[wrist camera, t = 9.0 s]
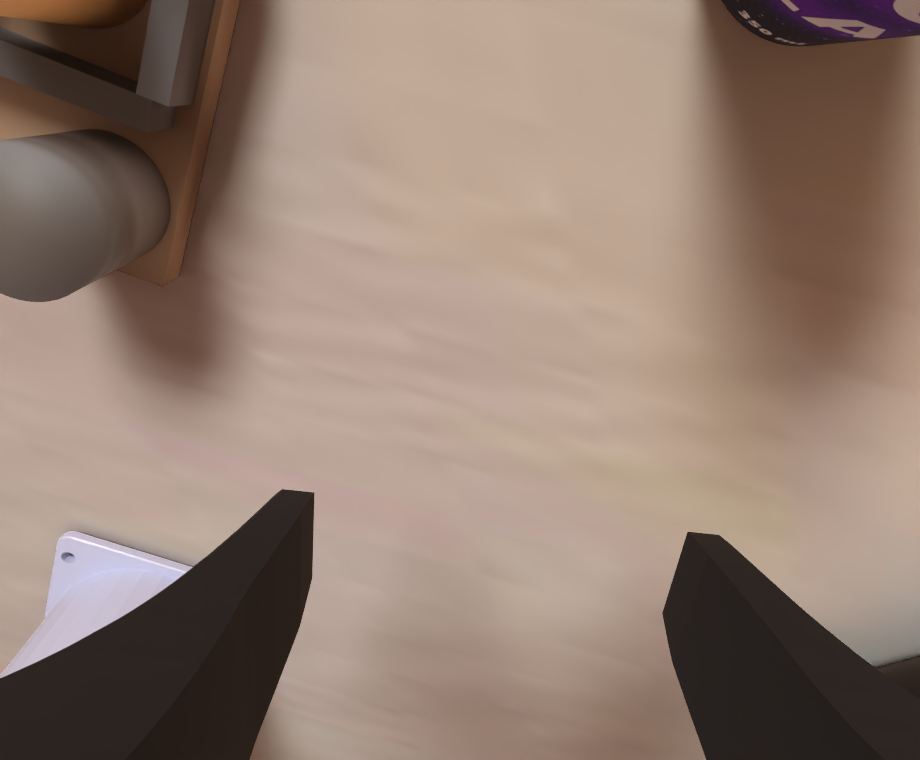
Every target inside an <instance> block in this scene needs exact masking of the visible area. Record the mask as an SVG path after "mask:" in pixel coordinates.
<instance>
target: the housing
mask: <svg viewBox="0 0 920 760" xmlns="http://www.w3.org/2000/svg"><path fill="white" fill-rule="evenodd" d="M239 3H240V0H148V1H147V2H146V4H145V5H144V7H143V8H142V9H141V10H140V11H139V12H138V13H137V14H136V15H135V16H134V17H133V18H131V19H130V20H129V21H127V22H125V23H123V24H121V25H118V26H114V27H110V28H88V27H80V26H72V25H65V24H57V23H50V22H42V21H34V20H27V19H19V18H11V17H4V16H0V293H1V294H4V295H6V296H9V297H12V298H15V299H19V300H24V301H31V302H45V301H52V300H57V299H60V298H63V297H65V296H67V295H69V294H71V293H73V292H75V291H77V290H79V289H81V288H82V287H84V286H86V285H88V284H90V283H92V282H94V281H96V280H97V279H99V278H101V277H103V276H105V275H107V274H109V273H111V272H112V271H114V270H118V271H121V272H124V273H127V274H129V275H132V276H135V277H138V278H140V279H143V280H146V281H149V282H151V283H154V284H157V285H160V286H162V287H163V286H165V285H166V284H168V283H169V282H171V281H172V280H174V279H175V278H177V277H178V276H179V274H180V270H181V265H182V261H183V256H184V252H185V247H186V243H187V238H188V234H189V229H190V225H191V220H192V216H193V211H194V207H195V202H196V198H197V193H198V189H199V184H200V180H201V175H202V171H203V166H204V162H205V157H206V152H207V148H208V143H209V139H210V134H211V130H212V125H213V121H214V116H215V112H216V107H217V103H218V98H219V94H220V89H221V85H222V80H223V76H224V71H225V67H226V62H227V58H228V53H229V49H230V44H231V40H232V35H233V31H234V26H235V21H236V17H237V12H238V8H239Z"/></svg>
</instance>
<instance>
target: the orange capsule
mask: <svg viewBox="0 0 920 760" xmlns="http://www.w3.org/2000/svg"><path fill="white" fill-rule="evenodd" d="M147 1H148V0H0V16H4V17H11V18H19V19H27V20H34V21H42V22H50V23H57V24H65V25H72V26H80V27H88V28H110V27H114V26H118V25H121V24H123V23H125V22H127V21H129V20H130V19H131V18H133V17H134V16H135V15H136V14H137V13H138V12H139V11H140V10H141V9H142V8H143V7H144V5H145V4H146V2H147Z"/></svg>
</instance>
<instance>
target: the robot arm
mask: <svg viewBox="0 0 920 760" xmlns="http://www.w3.org/2000/svg"><path fill="white" fill-rule="evenodd" d="M313 520H314V493H312V492H302V491H293V490H283V489H282V490H281V491H279V492H278V493H277V494H276V495H274V496H273V497H272V498H271V499H270V500H269V501H268V502H267V503H266V504H265V505H264V506H263V507H262V508H261V509H260V510H259V511H258V512H257V513H255V514H254V515H253V516H252V517H251V518H250V519H249V520H248V521H247V522H246V523H245V524H244V525H242V526H241V527H240V528H239V529H238V530H237V531H236V532H235V533H234V534H232V535H231V536H230V537H229V538H228V539H227V540H225V541H224V542H223V543H222V544H221V545H220V546H218V547H217V548H216V549H215V550H214V551H213V552H211V553H210V554H209V555H208V556H207V557H205V558H204V559H203V560H202V561H200V562H199V563H198V564H196V565H195V566H194V567H190V566H187V565H184V564H181V563H177V562H174V561H171V560H168V559H164V558H161V557H158V556H155V555H151V554H148V553H145V552H142V551H138V550H135V549H132V548H129V547H125V546H122V545H119V544H116V543H112V542H109V541H106V540H103V539H99V538H96V537H93V536H89V535H86V534H83V533H80V532H76V531H68V532H66V533H64V534H63V535H62V536H61V537H60V539H59V540H58V542H57V547H56V552H55V558H54V564H53V570H52V576H51V581H50V587H49V593H48V599H47V605H46V610H45V616H44V621H43V622H42V623H41V624H40V626H39V627H38V628H37V629H36V631H35V632H34V633H33V634H32V636H31V637H30V638H29V639H28V641H27V642H26V643H25V644H24V646H23V647H22V648H21V649H20V651H19V652H18V653H17V655H16V656H15V657H14V658H13V660H12V661H11V662H10V663H9V665H8V666H7V667H6V668H5V670H4V671H3V672H2V673H1V675H0V760H249V759H250V756H251V753H252V750H253V747H254V744H255V741H256V739H257V736H258V733H259V730H260V728H261V725H262V723H263V720H264V718H265V715H266V712H267V710H268V707H269V705H270V702H271V700H272V697H273V694H274V692H275V689H276V687H277V684H278V682H279V679H280V676H281V674H282V671H283V669H284V666H285V664H286V661H287V658H288V656H289V653H290V650H291V648H292V645H293V643H294V640H295V637H296V635H297V632H298V629H299V627H300V623H301V619H302V615H303V612H304V608H305V604H306V600H307V596H308V592H309V588H310V584H311V580H312V559H313ZM68 552H69V553H71V554H73V555H74V556H72V555H70V554H69V553H68ZM663 618H664V623H665V629H666V634H667V639H668V644H669V648H670V653H671V657H672V662H673V665H674V668H675V671H676V674H677V677H678V680H679V683H680V686H681V689H682V692H683V695H684V697H685V700H686V703H687V706H688V709H689V712H690V715H691V717H692V720H693V723H694V726H695V729H696V731H697V734H698V737H699V740H700V743H701V746H702V748H703V751H704V754H705V757H706V760H920V699H919V698H917V697H916V696H914V695H913V694H911V693H910V692H908V691H907V690H906V689H904V688H903V687H901V686H900V685H899V684H897V683H896V682H894V681H893V680H891V679H890V678H889V677H887V676H886V675H884V674H883V673H882V672H880V671H879V670H877V669H876V668H875V667H873V666H872V665H871V664H869V663H868V662H867V661H865V660H864V659H863V658H861V657H860V656H859V655H857V654H856V653H855V652H854V651H852V650H851V649H850V648H849V647H847V646H846V645H845V644H844V643H842V642H841V641H840V640H839V639H837V638H836V637H835V636H834V635H833V634H831V633H830V632H829V631H828V630H826V629H825V628H824V627H823V626H822V625H820V624H819V623H818V622H817V621H816V620H814V619H813V618H812V617H811V616H810V615H809V614H807V613H806V612H805V611H804V610H803V609H802V608H801V607H799V606H798V605H797V604H796V603H795V602H794V601H793V600H791V599H790V598H789V597H788V596H787V595H786V594H785V593H784V592H783V591H781V590H780V589H779V588H778V587H777V586H776V585H775V584H774V583H773V582H771V581H770V580H769V579H768V578H767V577H766V576H765V575H764V574H763V573H762V572H760V571H759V570H758V569H757V568H756V567H755V566H754V565H753V564H752V563H751V562H750V561H748V560H747V559H746V558H745V557H744V556H743V555H742V554H741V553H740V552H738V551H737V550H736V549H735V548H734V547H733V546H732V545H730V544H729V543H728V542H727V541H726V540H724V539H723V538H722V537H721V536H719V535H713V534H703V533H694V532H688V533H687V536H686V539H685V542H684V545H683V549H682V552H681V555H680V558H679V562H678V565H677V568H676V571H675V575H674V578H673V581H672V584H671V587H670V591H669V594H668V597H667V600H666V604H665V607H664V610H663Z"/></svg>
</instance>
